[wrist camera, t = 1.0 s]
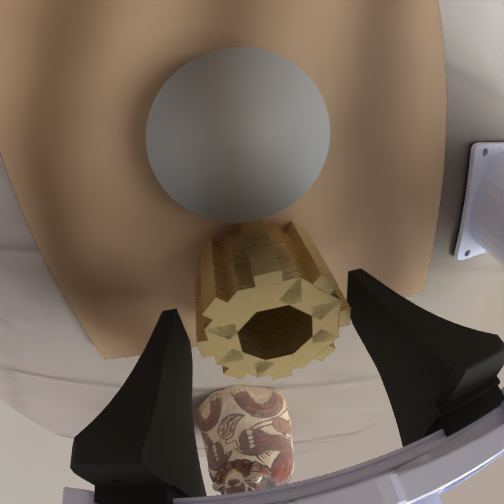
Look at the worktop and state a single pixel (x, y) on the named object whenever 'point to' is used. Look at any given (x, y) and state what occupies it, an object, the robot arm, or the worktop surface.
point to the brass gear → (266, 301)
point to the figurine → (247, 438)
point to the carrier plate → (119, 191)
